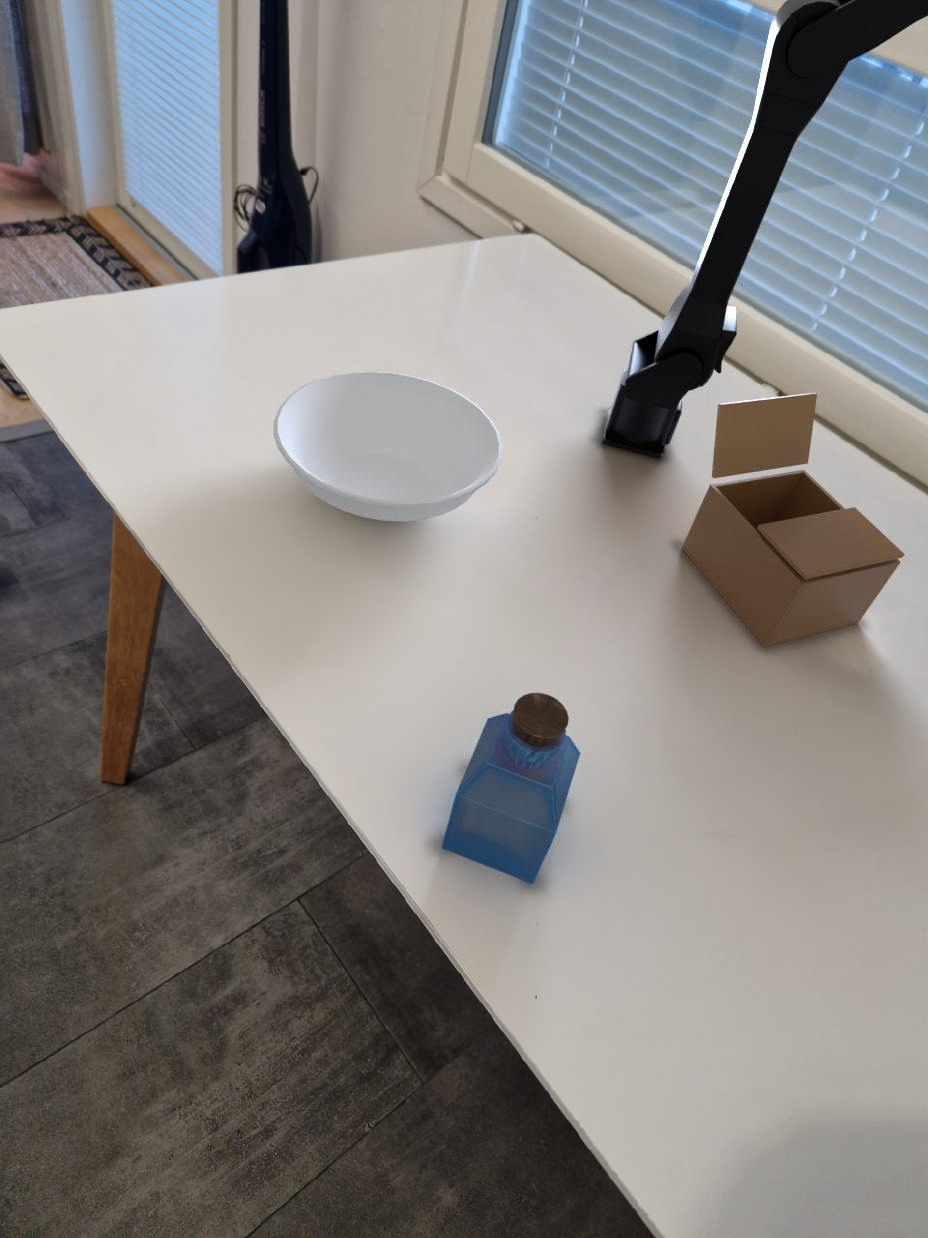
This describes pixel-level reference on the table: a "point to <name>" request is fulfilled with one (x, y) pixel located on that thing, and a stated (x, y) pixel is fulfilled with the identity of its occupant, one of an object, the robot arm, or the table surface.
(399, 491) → the bowl
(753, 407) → the flap
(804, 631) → the carton
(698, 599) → the table surface
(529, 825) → the perfume bottle
